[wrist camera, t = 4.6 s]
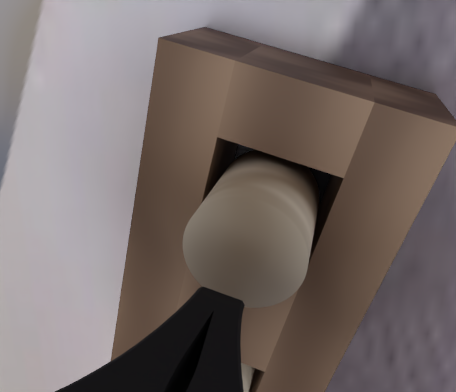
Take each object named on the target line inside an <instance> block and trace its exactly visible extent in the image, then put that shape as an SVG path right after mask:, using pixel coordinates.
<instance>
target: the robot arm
mask: <svg viewBox="0 0 456 392" xmlns="http://www.w3.org/2000/svg"><path fill="white" fill-rule="evenodd" d="M244 306H245V304H244V303H243V301H242V300H239V299H236V298H234V297H231V296H228V295H225V294H223V293H220V292H217V291H214V290H212V289H209V288H206V287H200V288H198V289H197V291H196V292H195V293H194V294H193V295H192V296H191V297H190V299H189V300H188V301H187V302H186V303H185V304H184V305H183V306H182V307H180V308H179V309H178V310H177V311H176V312H175V313H174V314H173V315H172V316H171V317H169V318H168V319H167V320H166V321H165V322H164V323H163V324H161V325H160V326H159V327H158V328H157V329H155V330H154V331H153V332H152V333H150V334H149V335H148V336H146V337H145V338H144V339H142V340H141V341H140V342H138V343H137V344H136V345H134V346H133V347H132V348H130V349H129V350H127V351H126V352H124V353H123V354H121V355H120V356H118V357H117V358H115V359H114V360H112V361H111V362H109V363H107V364H106V365H104V366H102V367H101V368H99V369H97V370H96V371H94V372H92V373H90V374H89V375H87V376H85V377H83V378H81V379H80V380H78V381H76V382H74V383H72V384H70V385H68V386H66V387H64V388H62V389H60V390H57V391H55V392H244V390H243V380H242V369H241V322H242V314H243V309H244Z"/></svg>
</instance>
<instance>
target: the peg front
mask: <svg viewBox="0 0 456 392" xmlns="http://www.w3.org/2000/svg"><path fill="white" fill-rule="evenodd" d="M318 207H319V188H318V185H317V182H316V180H315V177H314V175H313V174H312V172H311V171H310V169H309V168H308V167H307V166H305V165H302V164H298V163H295V162H292V161H289V160H286V159H283V158H280V157H277V156H274V155H271V154H268V153H265V152H262V151H258V150H252V151H249V152H247V153H244V154H242V155H241V156H239V157H238V158H237V159H235V160H234V161H233V162H232V163H231V164H230V165H229V167H228V168H227V170H226V171H225V172H224V174H223V175H222V176H221V178H220V179H219V180H218V182H217V183H216V185H215V186H214V187H213V189H212V190H211V191H210V193H209V194H208V195H207V197H206V198H205V200H204V201H203V202H202V204H201V205H200V206H199V208H198V209H197V210H196V212H195V213H194V215H193V216H192V217H191V219H190V220H189V222H188V224H187V226H186V228H185V231H184V235H183V253H184V258H185V261H186V264H187V266H188V268H189V270H190V272H191V273H192V275H193V276H194V278H195V279H196V280H197V282H198V283H199V284H200V285H201V286H202V287H206V288H209V289H212V290H214V291H217V292H220V293H223V294H225V295H228V296H231V297H234V298H236V299H239V300H242V301H243V303H244V304H245V306H244V307H249V308H261V307H268V306H272V305H275V304H278V303H281V302H282V301H284V300H286V299H288V298H289V297H290V296H292V295H293V294H294V293H295V292H296V291H297V290H298V289H299V287H300V286H301V284H302V283H303V281H304V279H305V276H306V273H307V269H308V263H309V257H310V252H311V246H312V240H313V235H314V229H315V223H316V218H317V212H318Z"/></svg>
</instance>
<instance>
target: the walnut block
mask: <svg viewBox="0 0 456 392" xmlns="http://www.w3.org/2000/svg"><path fill="white" fill-rule="evenodd" d="M455 142H456V120H455V119H454V117H453V116H452V115H451V113H450V112H449V111H448V109H447V108H446V107H445V106H444V104H443V103H442V102H441V100H440V99H439V98H438V97H437V95H436V94H433V93H429V92H426V91H423V90H419V89H416V88H412V87H409V86H405V85H402V84H399V83H395V82H392V81H388V80H385V79H381V78H378V77H375V76H371V75H368V74H364V73H361V72H357V71H354V70H351V69H347V68H344V67H340V66H337V65H333V64H330V63H327V62H323V61H320V60H316V59H313V58H309V57H306V56H303V55H299V54H296V53H292V52H289V51H285V50H282V49H279V48H275V47H272V46H268V45H265V44H261V43H258V42H254V41H251V40H248V39H244V38H241V37H237V36H234V35H230V34H227V33H224V32H220V31H217V30H213V29H210V28H206V27H203V28H199V29H194V30H190V31H186V32H181V33H177V34H173V35H168V36H164V37H160V38H159V39H158V46H157V52H156V59H155V66H154V73H153V79H152V86H151V93H150V100H149V106H148V113H147V120H146V127H145V133H144V140H143V147H142V154H141V161H140V167H139V174H138V181H137V188H136V194H135V201H134V208H133V215H132V221H131V228H130V235H129V242H128V248H127V255H126V262H125V269H124V275H123V282H122V289H121V296H120V302H119V309H118V316H117V323H116V329H115V336H114V343H113V350H112V357H111V361H112V360H114V359H115V358H117V357H118V356H120V355H121V354H123V353H124V352H126V351H127V350H129V349H130V348H132V347H133V346H134V345H136V344H137V343H138V342H140V341H141V340H142V339H144V338H145V337H146V336H148V335H149V334H150V333H152V332H153V331H154V330H155V329H157V328H158V327H159V326H160V325H161V324H163V323H164V322H165V321H166V320H167V319H168V318H169V317H171V316H172V315H173V314H174V313H175V312H176V311H177V310H178V309H179V308H180V307H182V306H183V305H184V304H185V303H186V302H187V301H188V300H189V299H190V297H191V296H192V295H193V294H194V293H195V292H196V291H197V289H198V288H200V287H202V286H201V285H200V284H199V283H198V282H197V280H196V279H195V278H194V276H193V275H192V273H191V272H190V270H189V268H188V266H187V264H186V261H185V258H184V253H183V235H184V231H185V228H186V226H187V224H188V222H189V220H190V219H191V217H192V216H193V215H194V213H195V212H196V210H197V209H198V208H199V206H200V205H201V204H202V202H203V201H204V200H205V198H206V197H207V195H208V194H209V193H210V191H211V190H212V189H213V187H214V186H215V185H216V183H217V182H218V180H219V179H220V178H221V176H222V175H223V174H224V172H225V171H226V170H227V168H228V167H229V165H230V164H231V163H232V162H233V161H234V157H235V153H236V149H237V146H238V144H240V145H243V146H246V147H249V148H252V149H255V150H258V151H262V152H265V153H268V154H271V155H274V156H277V157H280V158H283V159H286V160H289V161H292V162H295V163H298V164H302V165H305V166H308V167H311V168H314V169H317V170H320V171H323V172H326V173H329V174H331V177H330V180H329V182H328V185H327V187H326V190H325V192H324V195H323V197H322V200H321V203H320V205H319V208H318V212H317V218H316V223H315V229H314V235H313V240H312V246H311V252H310V257H309V263H308V269H307V273H306V276H305V279H304V281H303V283H302V284H301V286H300V287H299V289H298V290H297V291H296V292H295V293H294V294H293V295H292V296H290V297H289V298H288V299H286V300H284V301H282V302H281V303H278V304H275V305H272V306H268V307H261V308H249V307H244V309H243V314H242V322H241V363H243V364H246V365H248V366H251V367H253V368H255V370H254V373H253V377H252V381H251V385H250V388H249V392H325V390H326V388H327V386H328V384H329V382H330V380H331V378H332V377H333V375H334V373H335V371H336V369H337V367H338V365H339V363H340V361H341V359H342V357H343V356H344V354H345V352H346V350H347V348H348V346H349V344H350V342H351V340H352V338H353V336H354V335H355V333H356V331H357V329H358V327H359V325H360V323H361V321H362V319H363V317H364V315H365V314H366V312H367V310H368V308H369V306H370V304H371V302H372V300H373V298H374V296H375V294H376V293H377V291H378V289H379V287H380V285H381V283H382V281H383V279H384V277H385V275H386V273H387V272H388V270H389V268H390V266H391V264H392V262H393V260H394V258H395V256H396V254H397V252H398V251H399V249H400V247H401V245H402V243H403V241H404V239H405V237H406V235H407V233H408V231H409V230H410V228H411V226H412V224H413V222H414V220H415V218H416V216H417V214H418V212H419V210H420V209H421V207H422V205H423V203H424V201H425V199H426V197H427V195H428V193H429V191H430V189H431V188H432V186H433V184H434V182H435V180H436V178H437V176H438V174H439V172H440V170H441V168H442V167H443V165H444V163H445V161H446V159H447V157H448V155H449V153H450V151H451V149H452V147H453V146H454V144H455Z"/></svg>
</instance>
